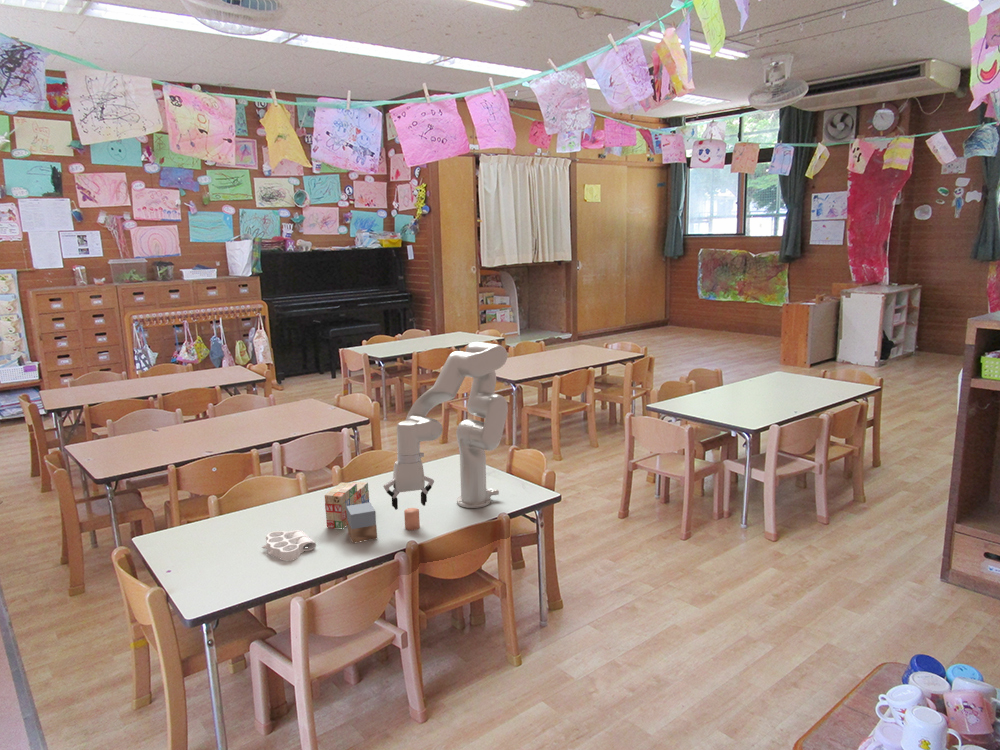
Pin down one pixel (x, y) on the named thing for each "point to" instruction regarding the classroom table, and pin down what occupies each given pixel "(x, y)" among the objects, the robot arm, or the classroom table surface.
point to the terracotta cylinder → (412, 519)
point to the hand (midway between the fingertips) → (409, 506)
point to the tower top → (361, 515)
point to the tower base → (362, 533)
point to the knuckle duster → (288, 544)
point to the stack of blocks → (344, 502)
